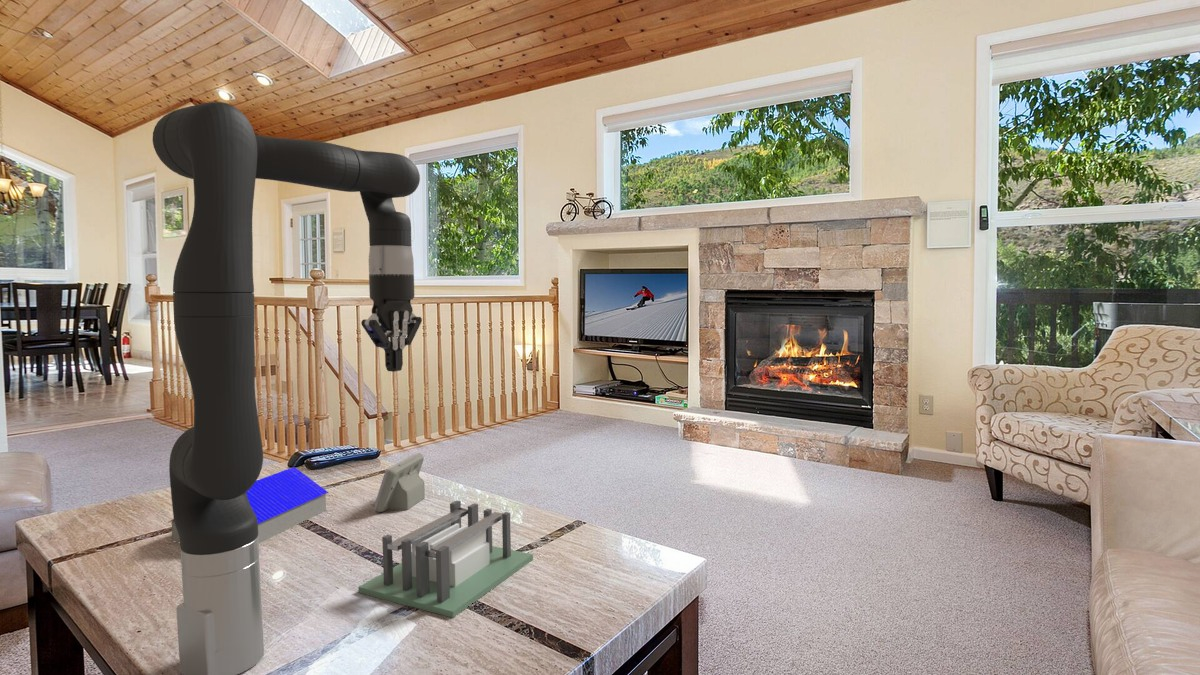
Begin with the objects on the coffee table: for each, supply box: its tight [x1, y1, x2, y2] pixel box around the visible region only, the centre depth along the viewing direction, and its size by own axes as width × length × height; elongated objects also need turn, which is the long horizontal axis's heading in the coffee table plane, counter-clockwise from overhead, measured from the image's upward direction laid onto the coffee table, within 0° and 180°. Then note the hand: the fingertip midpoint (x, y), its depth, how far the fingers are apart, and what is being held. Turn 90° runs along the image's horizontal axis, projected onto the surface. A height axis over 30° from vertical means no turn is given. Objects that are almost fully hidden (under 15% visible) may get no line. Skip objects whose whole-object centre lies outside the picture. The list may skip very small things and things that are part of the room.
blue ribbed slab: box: [167, 466, 329, 544], centre depth 141 cm, size 19×25×10 cm
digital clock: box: [373, 452, 426, 513], centre depth 155 cm, size 16×9×11 cm, turn 157°
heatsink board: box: [357, 500, 534, 619], centre depth 117 cm, size 24×20×10 cm
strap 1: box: [387, 507, 468, 552], centre depth 118 cm, size 20×2×1 cm, turn 155°
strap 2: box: [425, 511, 504, 558], centre depth 115 cm, size 20×2×1 cm, turn 155°
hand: (394, 370), depth 115 cm, fingers closed
